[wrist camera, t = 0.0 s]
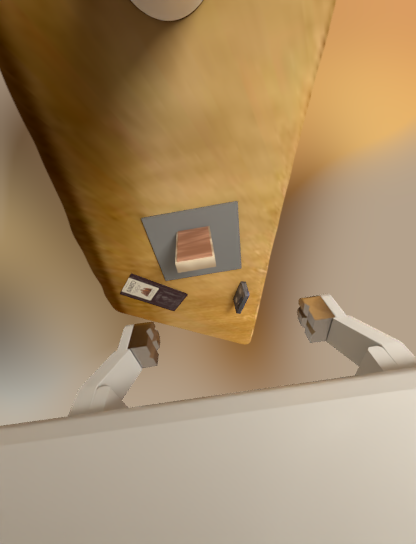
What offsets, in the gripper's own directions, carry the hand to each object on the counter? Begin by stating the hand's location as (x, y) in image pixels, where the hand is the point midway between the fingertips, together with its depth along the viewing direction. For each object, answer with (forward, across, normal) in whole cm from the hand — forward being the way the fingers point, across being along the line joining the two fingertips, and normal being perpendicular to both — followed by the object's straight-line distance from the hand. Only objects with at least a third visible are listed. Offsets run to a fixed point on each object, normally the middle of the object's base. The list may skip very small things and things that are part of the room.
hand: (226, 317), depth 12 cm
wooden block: (+40, +4, +14) cm, 42 cm away
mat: (+41, +4, +18) cm, 45 cm away
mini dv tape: (+43, -6, +38) cm, 58 cm away
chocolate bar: (+43, +20, +33) cm, 58 cm away
